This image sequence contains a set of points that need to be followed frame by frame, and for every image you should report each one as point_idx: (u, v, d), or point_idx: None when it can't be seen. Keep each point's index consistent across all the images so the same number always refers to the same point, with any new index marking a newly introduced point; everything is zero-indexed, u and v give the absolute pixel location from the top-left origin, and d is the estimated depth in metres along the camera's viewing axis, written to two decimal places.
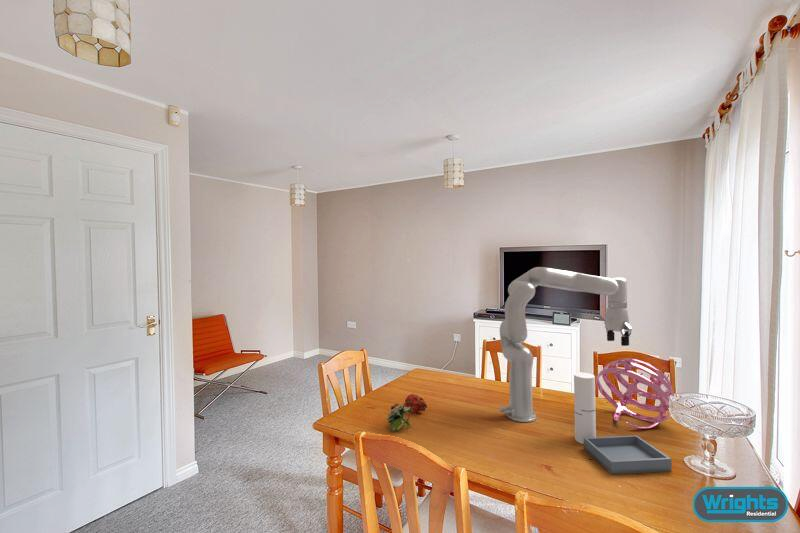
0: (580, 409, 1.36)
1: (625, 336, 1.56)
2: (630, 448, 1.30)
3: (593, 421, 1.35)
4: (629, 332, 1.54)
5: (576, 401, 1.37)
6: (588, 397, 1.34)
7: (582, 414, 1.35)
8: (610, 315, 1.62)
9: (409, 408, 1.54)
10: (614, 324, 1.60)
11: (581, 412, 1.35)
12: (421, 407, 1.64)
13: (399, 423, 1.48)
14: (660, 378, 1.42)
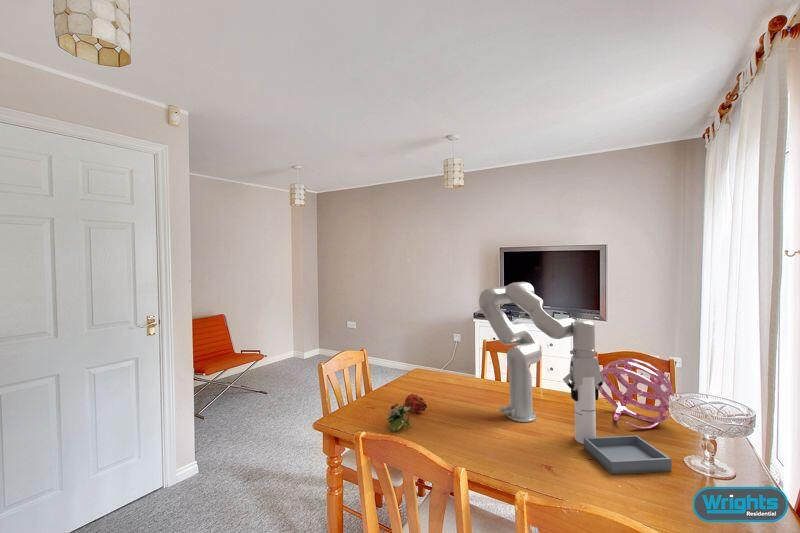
0: (580, 409, 1.36)
1: None
2: (630, 448, 1.30)
3: (593, 421, 1.35)
4: None
5: (576, 401, 1.37)
6: (588, 397, 1.34)
7: (582, 414, 1.35)
8: (586, 367, 1.35)
9: (409, 408, 1.54)
10: (593, 376, 1.35)
11: (581, 412, 1.35)
12: (421, 407, 1.64)
13: (399, 423, 1.48)
14: (660, 378, 1.42)
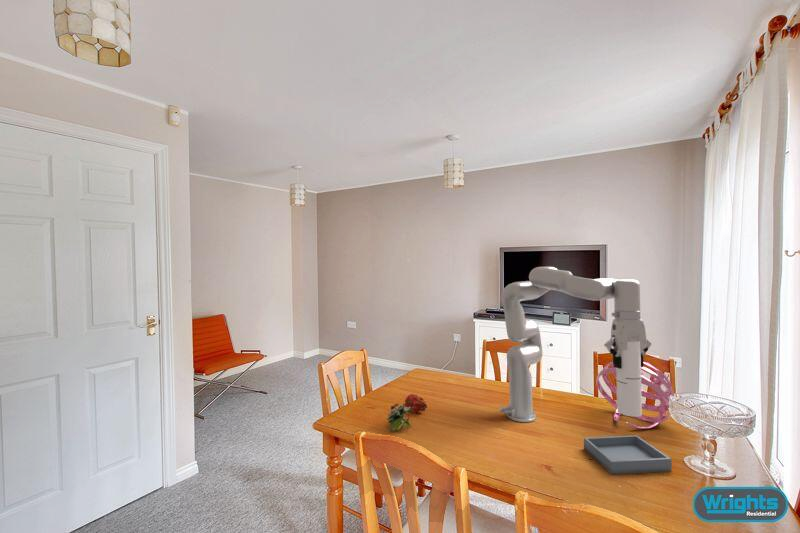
0: (624, 377, 1.22)
1: None
2: (630, 448, 1.30)
3: (639, 390, 1.21)
4: None
5: (619, 369, 1.23)
6: (633, 363, 1.20)
7: (627, 382, 1.21)
8: (631, 330, 1.21)
9: (409, 408, 1.54)
10: None
11: (626, 380, 1.21)
12: (421, 407, 1.64)
13: (399, 423, 1.48)
14: (660, 378, 1.42)
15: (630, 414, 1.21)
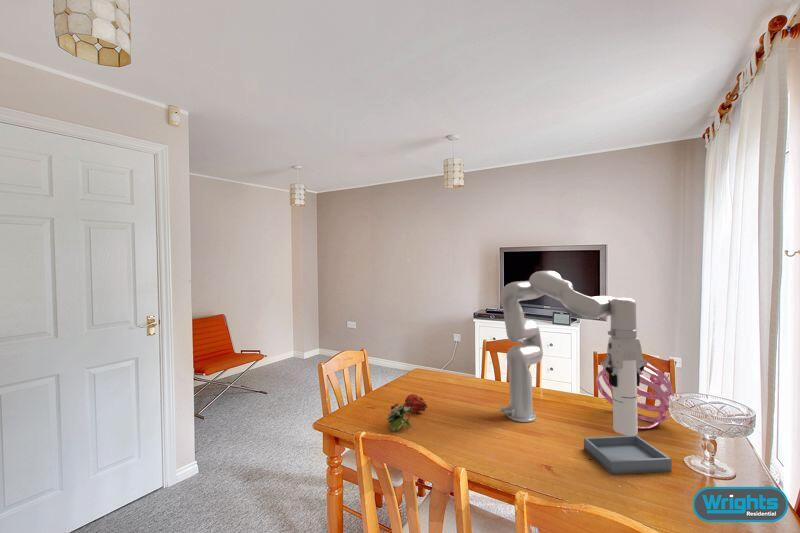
0: (620, 396, 1.22)
1: None
2: (630, 448, 1.30)
3: (635, 409, 1.21)
4: None
5: (615, 387, 1.23)
6: (629, 382, 1.20)
7: (622, 401, 1.21)
8: (627, 349, 1.21)
9: (409, 408, 1.54)
10: (635, 359, 1.21)
11: (621, 399, 1.21)
12: (421, 407, 1.64)
13: (399, 423, 1.48)
14: (660, 378, 1.42)
15: (626, 433, 1.21)
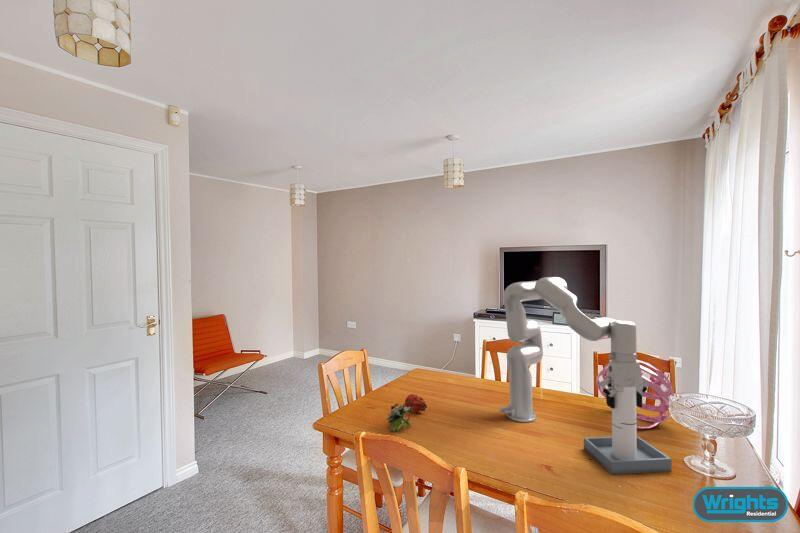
0: (619, 422, 1.22)
1: None
2: None
3: (634, 435, 1.21)
4: None
5: (615, 413, 1.24)
6: (629, 409, 1.21)
7: (622, 427, 1.22)
8: (627, 373, 1.21)
9: (409, 408, 1.54)
10: (635, 383, 1.21)
11: (621, 425, 1.22)
12: (421, 407, 1.64)
13: (399, 423, 1.48)
14: (660, 378, 1.42)
15: (625, 459, 1.21)
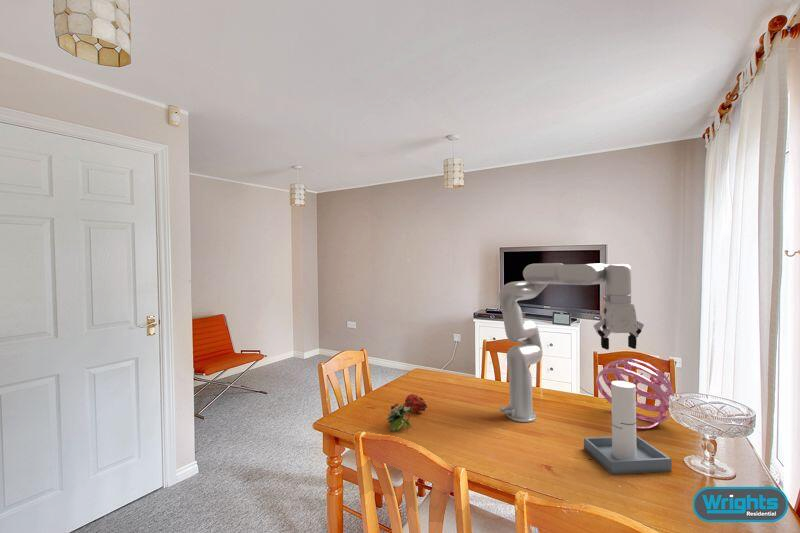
0: (619, 422, 1.22)
1: None
2: None
3: (634, 435, 1.21)
4: None
5: (614, 413, 1.24)
6: (628, 409, 1.21)
7: (622, 427, 1.22)
8: (622, 314, 1.23)
9: (409, 408, 1.54)
10: (629, 324, 1.23)
11: (620, 425, 1.22)
12: (421, 407, 1.64)
13: (399, 423, 1.48)
14: (660, 378, 1.42)
15: (625, 459, 1.21)
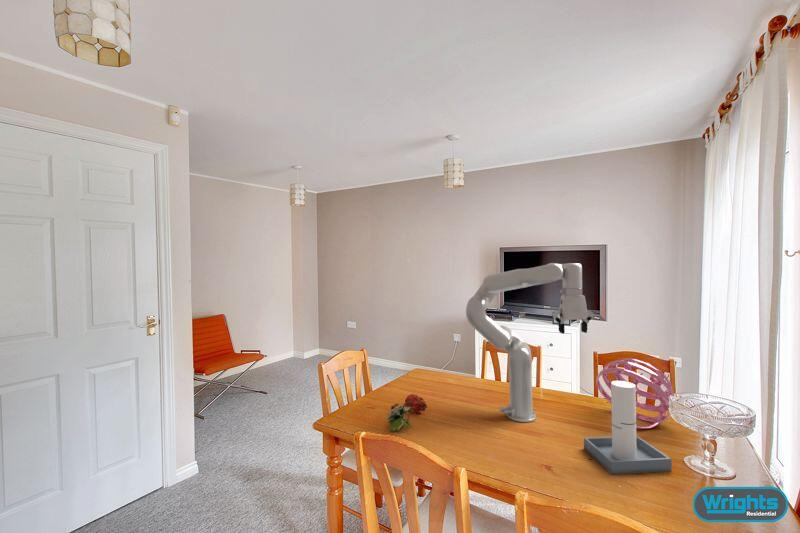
0: (619, 422, 1.22)
1: None
2: None
3: (634, 435, 1.21)
4: None
5: (614, 413, 1.24)
6: (628, 409, 1.21)
7: (622, 427, 1.22)
8: (574, 304, 1.50)
9: (409, 408, 1.54)
10: (581, 312, 1.50)
11: (620, 425, 1.22)
12: (421, 407, 1.64)
13: (399, 423, 1.48)
14: (660, 378, 1.42)
15: (625, 459, 1.21)
